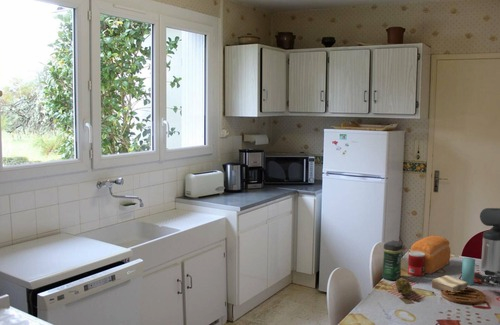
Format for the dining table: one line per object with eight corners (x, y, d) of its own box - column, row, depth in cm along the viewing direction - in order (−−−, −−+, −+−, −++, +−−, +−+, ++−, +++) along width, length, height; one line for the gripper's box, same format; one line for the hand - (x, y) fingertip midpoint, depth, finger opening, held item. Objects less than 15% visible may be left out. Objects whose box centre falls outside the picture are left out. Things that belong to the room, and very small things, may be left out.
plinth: (446, 283, 237) (446, 275, 237) (467, 290, 228) (467, 282, 228) (431, 287, 231) (432, 279, 231) (452, 294, 222) (453, 286, 222)
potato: (417, 292, 225) (418, 275, 224) (406, 300, 215) (407, 283, 214) (400, 288, 230) (401, 271, 229) (389, 296, 220) (389, 278, 219)
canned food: (425, 277, 246) (426, 256, 245) (408, 276, 247) (409, 254, 246) (422, 272, 253) (424, 251, 252) (406, 271, 255) (407, 250, 254)
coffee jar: (395, 282, 238) (396, 245, 236) (379, 278, 243) (381, 242, 241) (402, 277, 246) (404, 241, 244) (388, 273, 251) (389, 238, 249)
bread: (406, 269, 258) (407, 240, 257) (426, 258, 277) (428, 231, 276) (431, 275, 249) (433, 245, 247) (451, 264, 268) (452, 235, 267)
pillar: (465, 280, 242) (467, 256, 240) (476, 283, 237) (477, 259, 236) (458, 282, 239) (460, 258, 237) (469, 286, 234) (470, 261, 233)
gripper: (523, 273, 222) (488, 263, 236) (506, 278, 214) (471, 268, 228) (521, 288, 223) (487, 278, 237) (505, 295, 215) (470, 284, 229)
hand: (480, 273), depth 232 cm, fingers open, 8 cm apart
